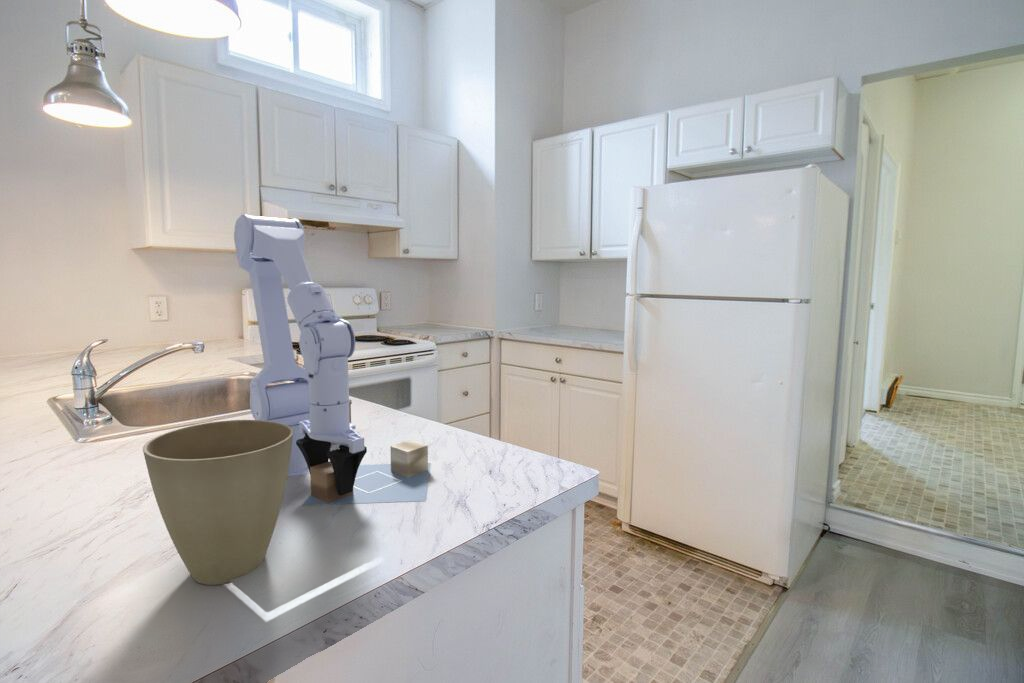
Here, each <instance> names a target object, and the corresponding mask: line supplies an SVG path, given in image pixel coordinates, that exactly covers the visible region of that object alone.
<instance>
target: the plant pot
mask: <svg viewBox="0 0 1024 683" xmlns="http://www.w3.org/2000/svg"><path fill="white" fill-rule="evenodd" d="M292 440H293V429H292V428H291V427H290V426H288V425H286V424H283V423H279V422H274V421H265V420H255V419H234V420H233V419H231V420H221V421H220V420H219V421H212V422H205V423H199V424H195V425H190V426H185V427H180V428H177V429H174V430H171V431H168V432H166V433H165V432H164V433H163V434H159V435H157V436H156V437H153V438H151V439H150V440H148V441H147V442H146V443H145V444H144V445H143V447H142V452H143V456H144V460H145V465H146V469H147V473H148V476H149V480H150V484H151V487H152V491H153V494H154V497H155V501H156V504H157V507H158V509H159V512H160V515H161V518H162V521H163V522H164V524H165V528H166V530H167V532H168V535H169V537H170V539H171V540H172V543H173V546H174V548H175V549H176V551H177V554H178V555H179V557H180V559H181V560H182V562H183V564H184V566H185V567H186V570H187V572H188V573H189V575H190V576H191V577H192V579H193V580H194V581H195V582H196V583H198V584H201V585H207V586H216V585H217V586H219V585H224V584H229V583H232V581H231V580H232V579H236V578H238V577H239V578H240V577H241V576H243V575H246V574H248V573H250V572H252V571H254V570H255V569H256V568H258V567H259V566H260V565H262V563H263V562H264V559H265V557H266V554H267V551H268V549H269V546H270V543H271V540H272V538H273V534H274V531H275V528H276V524H277V521H278V518H279V513H280V509H281V506H282V503H283V499H284V494H285V489H286V485H287V481H288V480H287V479H288V476H287V475H288V470H289V463H290V456H291V448H292Z"/></svg>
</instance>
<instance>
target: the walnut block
mask: <svg viewBox="0 0 1024 683" xmlns="http://www.w3.org/2000/svg"><path fill="white" fill-rule="evenodd" d="M309 475H310V493H311V495H312V496H314V497H316V498H318V499H320V500H322V501H324V502H326V503H330V502H333V501H335V500H338V499H341V498H344V497H346V496H349V495H352V494H353V490H352V492H350V493H348V494H345V495H342V496H340V495H338V492H337V489H336V482H335V475H334V470H333V467H332V464H331V462H330V460H328V462H326V463H322V464H319V465H316V466H312V467H310V473H309Z"/></svg>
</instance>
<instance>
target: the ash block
mask: <svg viewBox="0 0 1024 683" xmlns="http://www.w3.org/2000/svg"><path fill="white" fill-rule="evenodd" d="M428 448H429V445H427V444H425V443H422V442H418V441H414V440H411V439H410V440H407V441H403V442H400V443H396V444H393V445H391V446H390V448H389V449H390V464H391V471H392V472H394V473H397V474H399V475H402V476H405V477H407V478H409V477H411V476H414V475H417V474H419V473H422V472H425V471H427V470H428V463H429V450H428Z"/></svg>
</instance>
